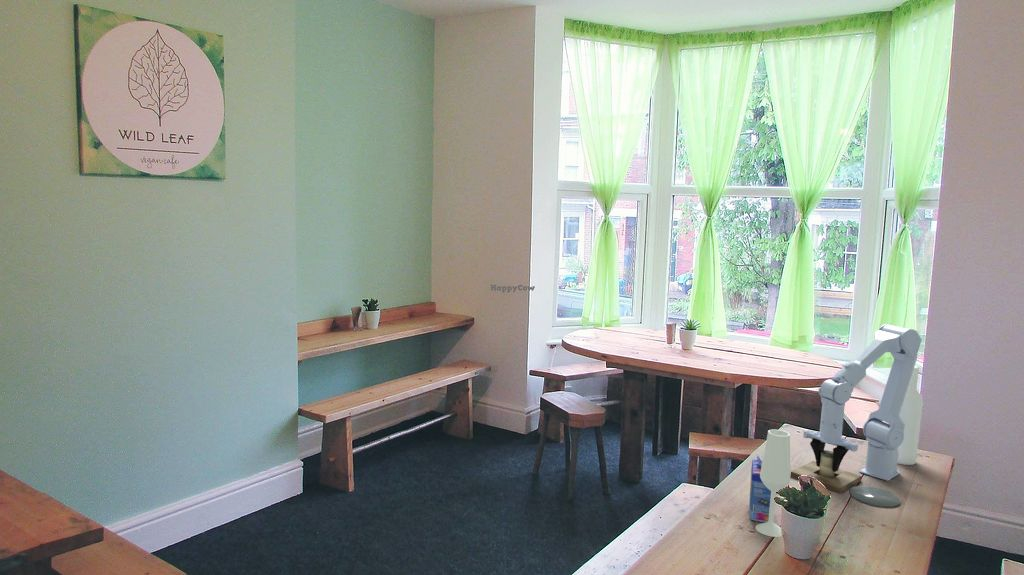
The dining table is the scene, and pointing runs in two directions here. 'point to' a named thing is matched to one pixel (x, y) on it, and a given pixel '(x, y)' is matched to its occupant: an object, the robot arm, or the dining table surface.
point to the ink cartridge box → (758, 494)
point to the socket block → (837, 483)
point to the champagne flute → (775, 474)
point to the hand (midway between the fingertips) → (827, 468)
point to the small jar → (826, 464)
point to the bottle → (911, 422)
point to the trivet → (874, 496)
